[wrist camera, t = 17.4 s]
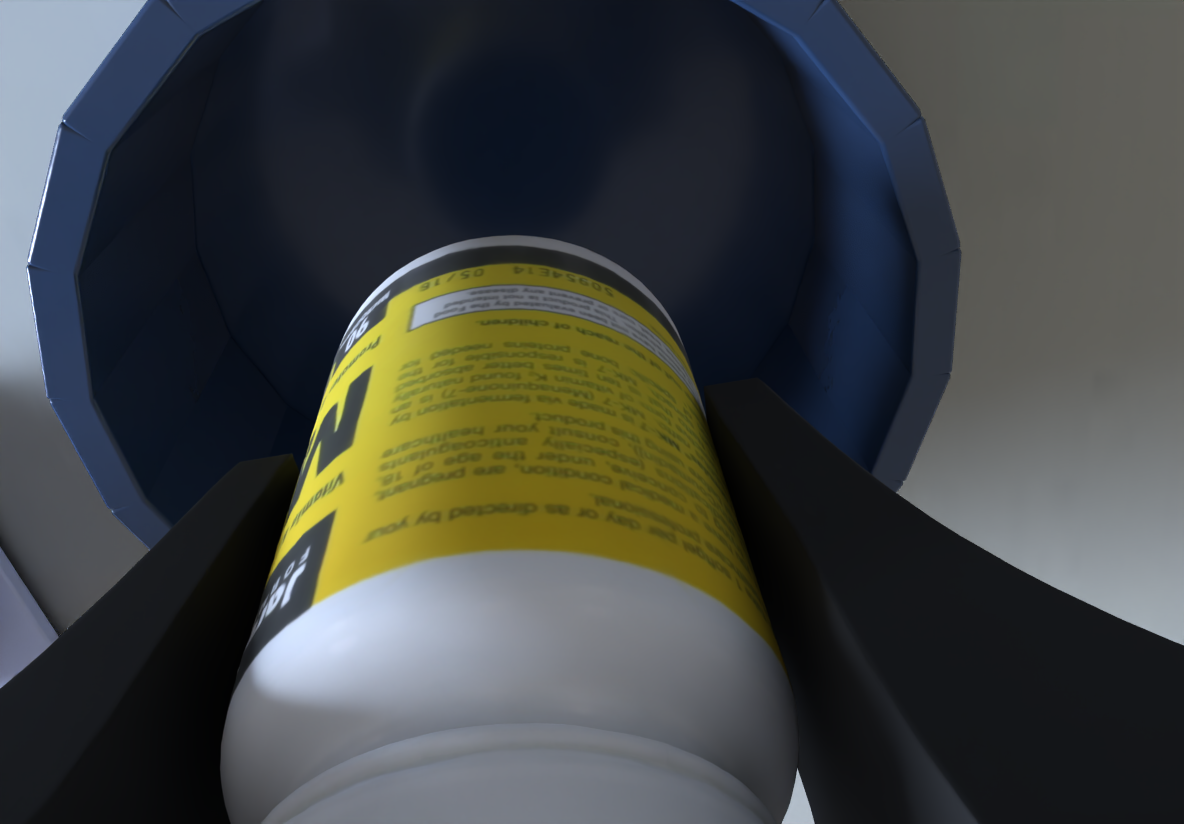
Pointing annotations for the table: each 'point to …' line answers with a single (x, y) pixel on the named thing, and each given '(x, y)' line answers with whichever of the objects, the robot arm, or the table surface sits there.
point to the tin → (478, 210)
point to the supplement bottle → (511, 572)
